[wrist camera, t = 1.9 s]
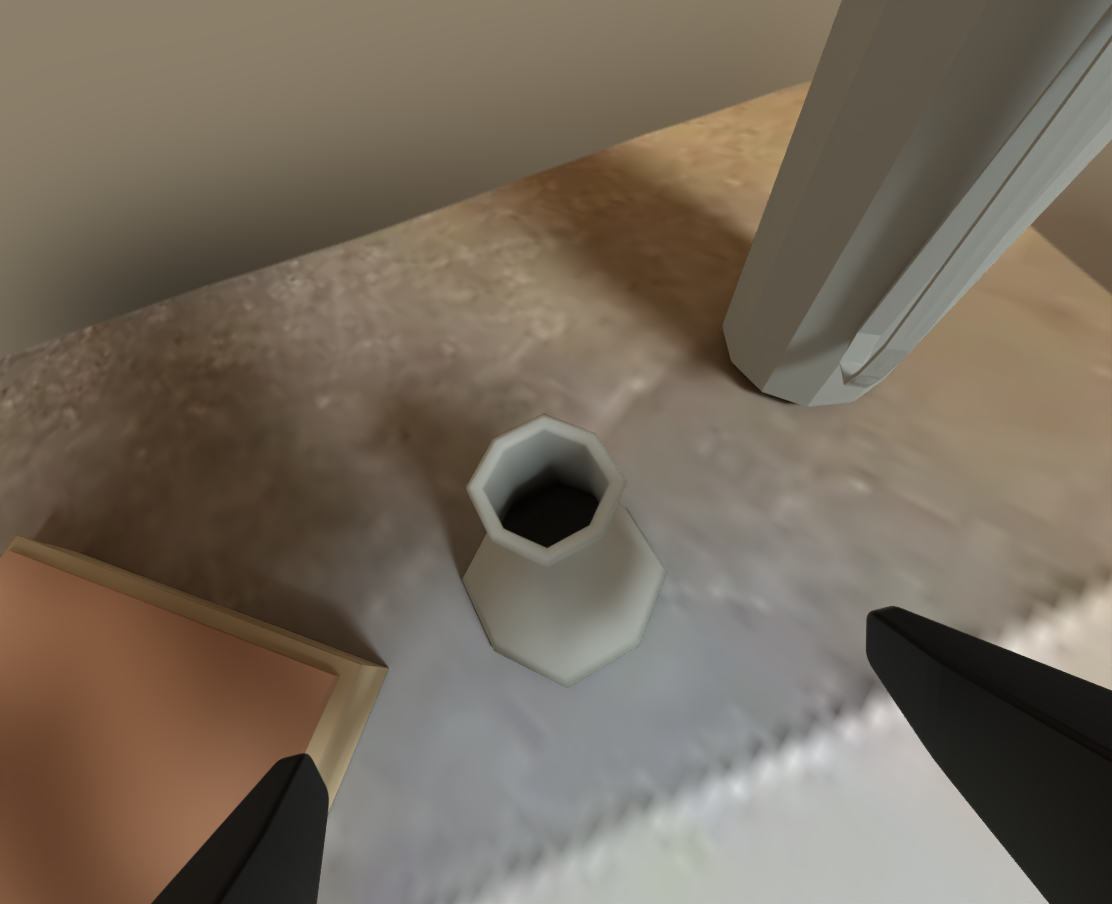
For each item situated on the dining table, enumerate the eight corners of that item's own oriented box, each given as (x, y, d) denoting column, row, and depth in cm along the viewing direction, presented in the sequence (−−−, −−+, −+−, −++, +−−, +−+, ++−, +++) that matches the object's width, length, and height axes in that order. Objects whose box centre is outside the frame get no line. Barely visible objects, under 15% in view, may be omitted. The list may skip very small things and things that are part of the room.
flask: (568, 729, 18) (551, 765, 9) (430, 582, 21) (305, 494, 11) (700, 572, 20) (793, 472, 11) (560, 454, 22) (541, 291, 13)
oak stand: (159, 1215, 14) (56, 1342, 11) (-215, 982, 16) (-374, 1040, 14) (388, 668, 19) (355, 664, 17) (79, 552, 22) (5, 532, 19)
